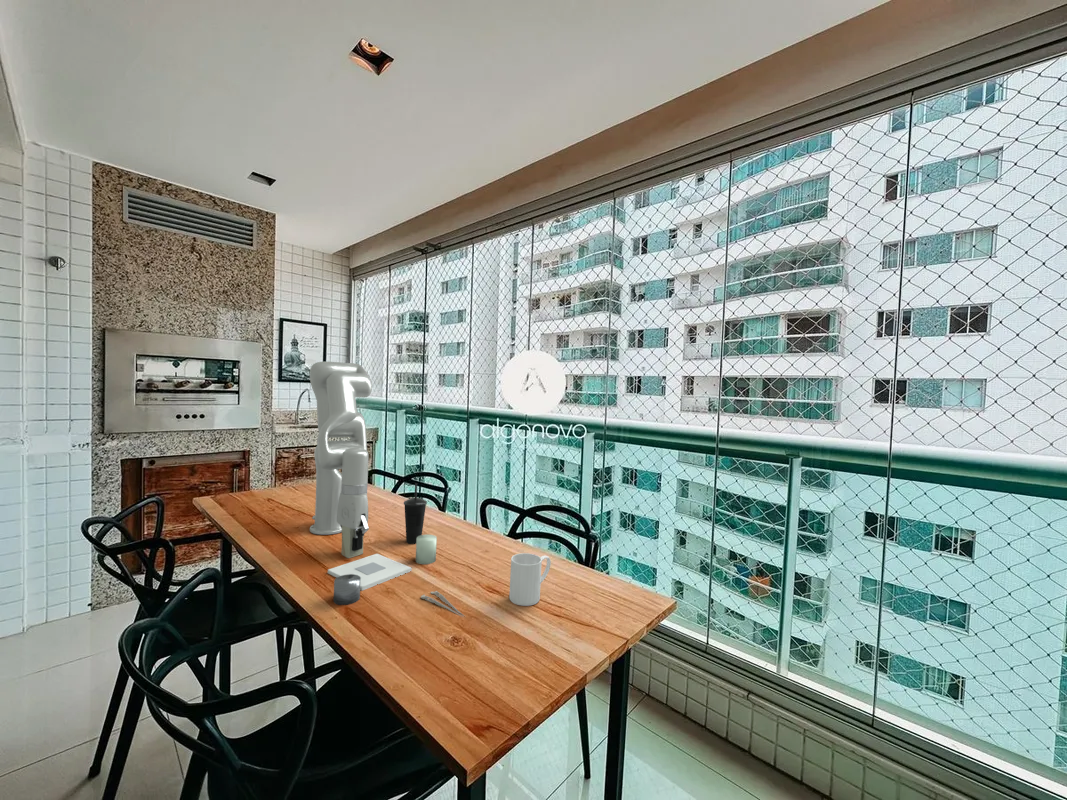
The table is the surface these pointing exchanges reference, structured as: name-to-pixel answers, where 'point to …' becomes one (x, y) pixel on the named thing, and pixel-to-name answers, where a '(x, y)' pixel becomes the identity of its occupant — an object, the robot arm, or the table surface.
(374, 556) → the white square plate
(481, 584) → the table surface
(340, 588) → the dark tin
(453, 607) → the tweezers
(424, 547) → the pale green capsule
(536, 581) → the mug
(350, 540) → the box
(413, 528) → the drinking cup
